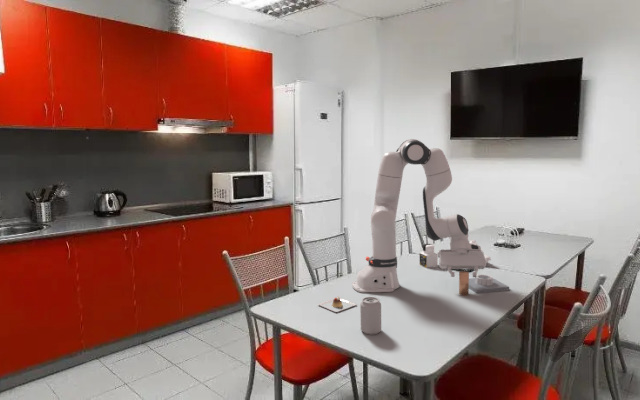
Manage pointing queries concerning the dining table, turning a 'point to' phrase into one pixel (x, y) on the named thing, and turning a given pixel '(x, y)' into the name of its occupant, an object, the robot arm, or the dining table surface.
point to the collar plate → (486, 284)
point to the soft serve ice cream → (481, 251)
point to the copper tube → (464, 283)
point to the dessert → (337, 303)
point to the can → (370, 315)
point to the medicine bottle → (428, 256)
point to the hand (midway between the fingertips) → (463, 276)
